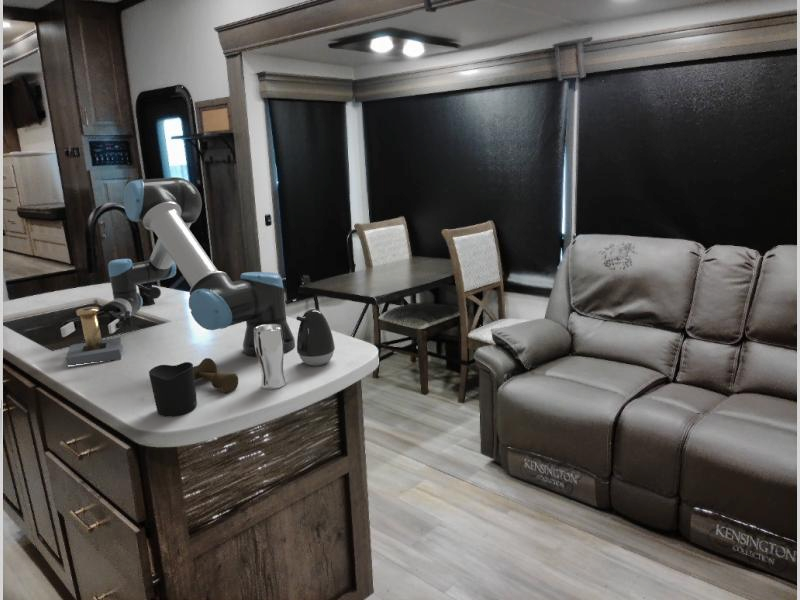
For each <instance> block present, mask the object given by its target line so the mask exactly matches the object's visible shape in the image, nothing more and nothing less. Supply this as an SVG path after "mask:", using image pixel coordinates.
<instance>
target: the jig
mask: <svg viewBox="0 0 800 600" xmlns="http://www.w3.org/2000/svg"><path fill="white" fill-rule="evenodd" d="M102 344H103V349H98V350H91V351H87V348H86V343H85V342H82V343H75V344H70V346H69V349H68V351H67V354H66V357H65V360H66V366H67V365H76V364H84V363H91V362H100V361H107V362H110V361H109V360H113V361H116V359H119V360H122V355H121V352H123V343H122V337H120V336H119V337H112V338H107V339H102Z"/></svg>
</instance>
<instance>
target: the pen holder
mask: <svg viewBox="0 0 800 600" xmlns="http://www.w3.org/2000/svg"><path fill="white" fill-rule="evenodd" d="M193 367H194V364H193V363H192V362H189V361H185V362H181V363H180V364H176V365H172V364H171V365H169V364H161V365H160V364H159V365H157V366H154V367H152V368H151V369H150V370H148V375H149V379H150V384H151V389H152V390H151V391H152V395H153V399H154V403H155V406H156V407H155V408H156V411H157V413H158V414H159V415H160V416H162V415H163V416H162V417H166V416H172V417H177V416H178V417H179V416H183V415H187V414H188V413H190V412H192V411H194V410H195V409H196V407H197V405H198V400H197V390H196V380H195V379H194V370H193Z"/></svg>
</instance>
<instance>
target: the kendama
mask: <svg viewBox="0 0 800 600" xmlns="http://www.w3.org/2000/svg"><path fill="white" fill-rule="evenodd" d="M193 370H194V379H195V381H197V380H199V379H203V380H206V381H208V382H209V383H211V385H212V387H213V388H214V389H221V390H222V392H223V393H226V394H230V393H232V392H234V391H236V389H237V388H238V386H239V377H238V374H237V373H235V372H229V373H226V372H225V371H223V370H220V371H218V367H217V365H216V362H215V361H214V360H213V359H212V358H211V357H207V358H206V357H205V358H203V359H202V361H201V362H200V363H199V364H198V365H196V366H193Z"/></svg>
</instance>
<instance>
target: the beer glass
mask: <svg viewBox="0 0 800 600" xmlns="http://www.w3.org/2000/svg"><path fill="white" fill-rule="evenodd" d="M254 343H255V351H256V355H257V356H256V359H257V360H258V364H259V368H260V373H261V386H260V387H261V388H262V389H264V390H277V389H281V388H284V387H285V386H286V385H287V380H286V377H285V373H284V357H285V355H284V354H285V353H284V342H283V335H282V330H281V326H280V325H278V324H265V325H260V326H257V327H255V328H254Z"/></svg>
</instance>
